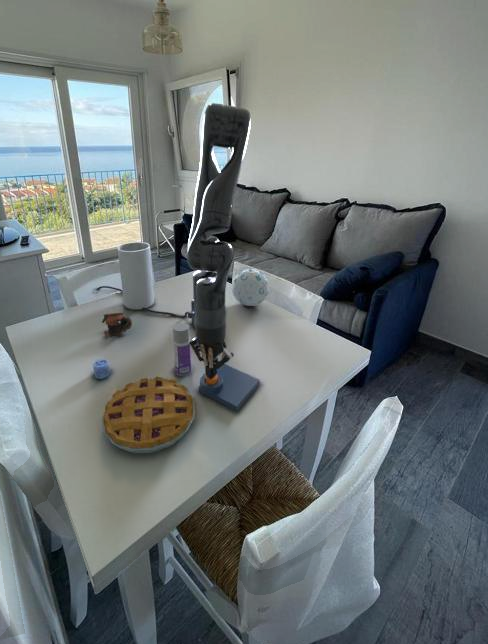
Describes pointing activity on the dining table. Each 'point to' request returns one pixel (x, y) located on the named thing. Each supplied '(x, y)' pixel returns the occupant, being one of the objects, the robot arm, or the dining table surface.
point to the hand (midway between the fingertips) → (211, 376)
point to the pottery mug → (116, 324)
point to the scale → (230, 387)
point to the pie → (148, 415)
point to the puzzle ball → (250, 287)
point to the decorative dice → (101, 368)
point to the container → (181, 349)
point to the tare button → (212, 380)
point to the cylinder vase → (136, 275)
